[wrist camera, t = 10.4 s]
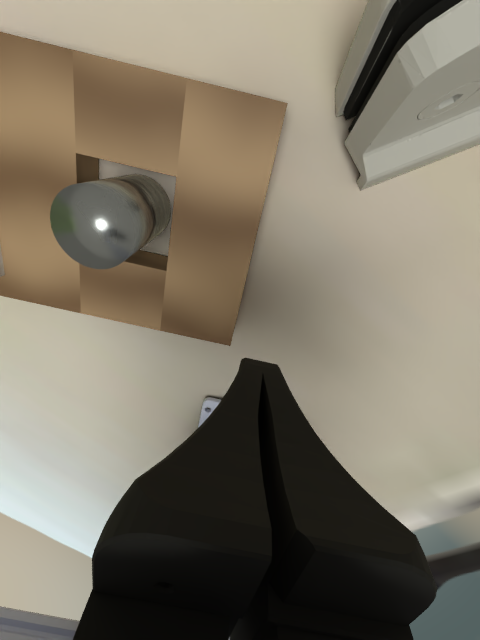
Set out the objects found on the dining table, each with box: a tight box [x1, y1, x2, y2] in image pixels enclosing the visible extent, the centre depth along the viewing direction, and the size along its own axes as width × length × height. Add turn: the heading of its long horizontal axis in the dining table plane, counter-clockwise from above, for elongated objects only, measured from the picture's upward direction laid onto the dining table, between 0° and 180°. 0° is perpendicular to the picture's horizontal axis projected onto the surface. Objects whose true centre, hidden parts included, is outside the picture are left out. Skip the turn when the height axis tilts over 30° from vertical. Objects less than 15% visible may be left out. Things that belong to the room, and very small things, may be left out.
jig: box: [0, 32, 287, 346], centre depth 18 cm, size 13×18×3 cm
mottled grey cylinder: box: [50, 174, 171, 269], centre depth 16 cm, size 4×4×6 cm
